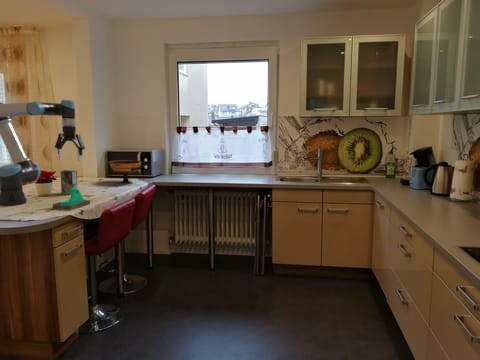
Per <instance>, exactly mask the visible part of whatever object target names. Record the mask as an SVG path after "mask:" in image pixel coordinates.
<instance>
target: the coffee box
mask: <svg viewBox="0 0 480 360" xmlns="http://www.w3.org/2000/svg"><path fill="white" fill-rule="evenodd" d="M59 172H60V187H61V188H60V190H61V194H62V195H70V190H71V189H72V188H75V189H79V188H78V171H77V170H72V169H71V170H70V169H69V170H67V169H64V170H62V171H61V170H60V171H59Z"/></svg>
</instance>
